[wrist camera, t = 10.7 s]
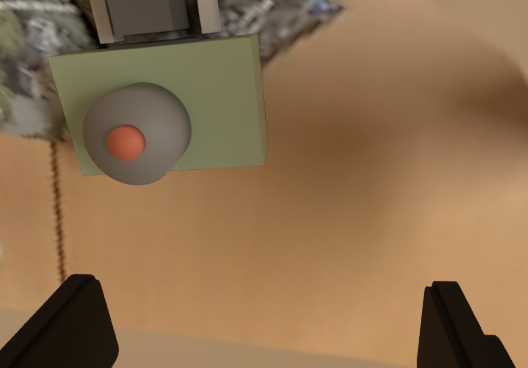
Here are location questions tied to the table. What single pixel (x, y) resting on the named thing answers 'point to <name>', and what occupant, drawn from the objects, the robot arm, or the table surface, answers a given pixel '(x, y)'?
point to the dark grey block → (148, 16)
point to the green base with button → (163, 102)
